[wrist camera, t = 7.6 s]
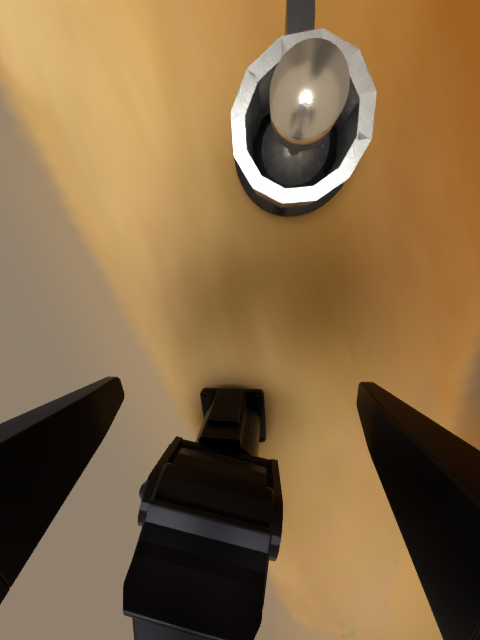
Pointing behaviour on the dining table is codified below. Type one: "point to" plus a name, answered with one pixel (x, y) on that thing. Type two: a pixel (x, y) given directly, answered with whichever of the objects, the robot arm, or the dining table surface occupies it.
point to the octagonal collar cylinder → (255, 117)
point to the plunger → (304, 109)
